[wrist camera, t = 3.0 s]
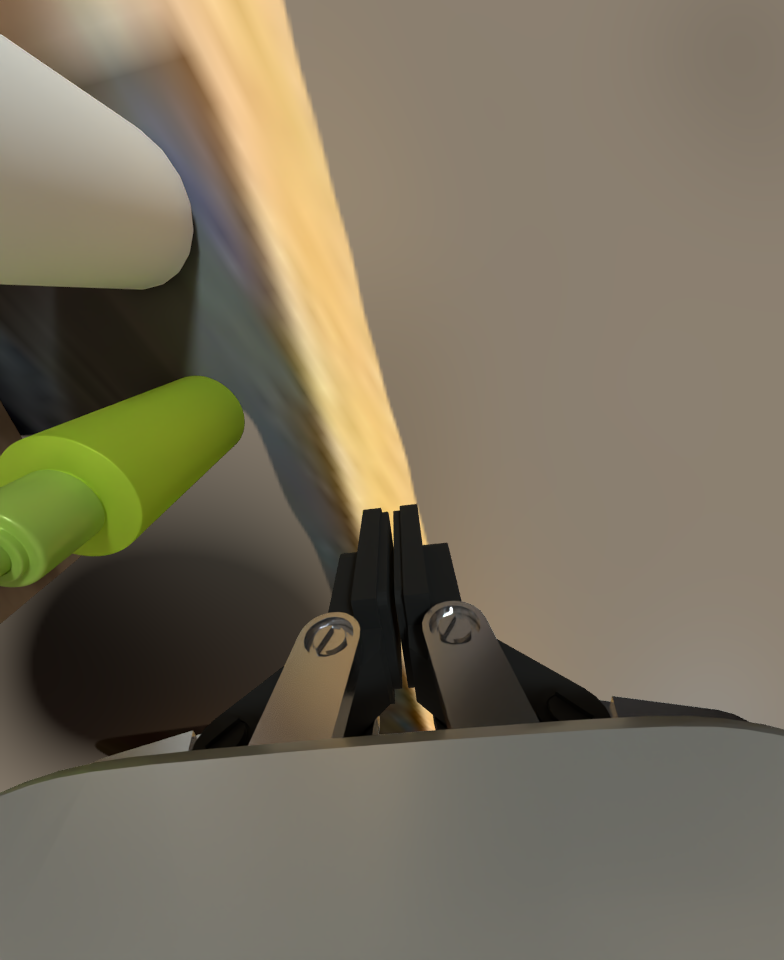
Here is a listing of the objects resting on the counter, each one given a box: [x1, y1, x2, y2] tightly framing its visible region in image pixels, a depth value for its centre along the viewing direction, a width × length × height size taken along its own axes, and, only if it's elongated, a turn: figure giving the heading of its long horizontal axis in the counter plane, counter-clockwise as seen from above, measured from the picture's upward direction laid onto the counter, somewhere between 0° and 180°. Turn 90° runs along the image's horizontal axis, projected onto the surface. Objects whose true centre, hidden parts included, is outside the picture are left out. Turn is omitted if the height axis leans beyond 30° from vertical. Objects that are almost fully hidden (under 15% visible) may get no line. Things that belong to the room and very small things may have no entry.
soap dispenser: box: [0, 376, 245, 587], centre depth 19 cm, size 6×7×20 cm
